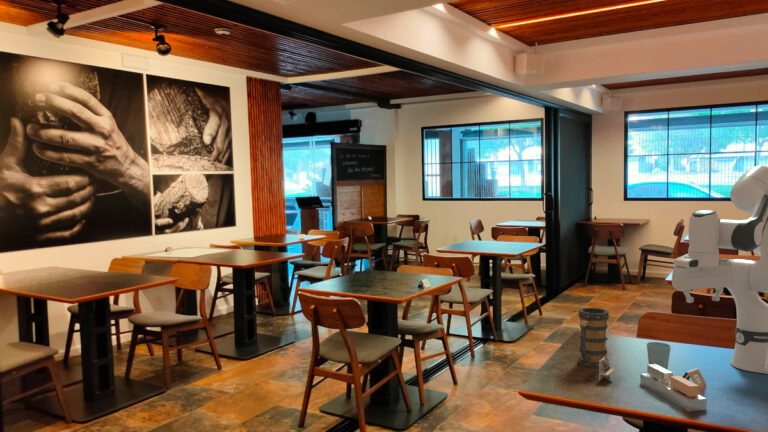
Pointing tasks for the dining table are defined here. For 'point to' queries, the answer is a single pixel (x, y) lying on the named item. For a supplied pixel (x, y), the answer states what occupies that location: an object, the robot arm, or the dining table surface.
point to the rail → (669, 388)
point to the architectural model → (604, 369)
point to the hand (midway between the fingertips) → (702, 301)
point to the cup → (658, 353)
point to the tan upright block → (684, 386)
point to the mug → (593, 336)
